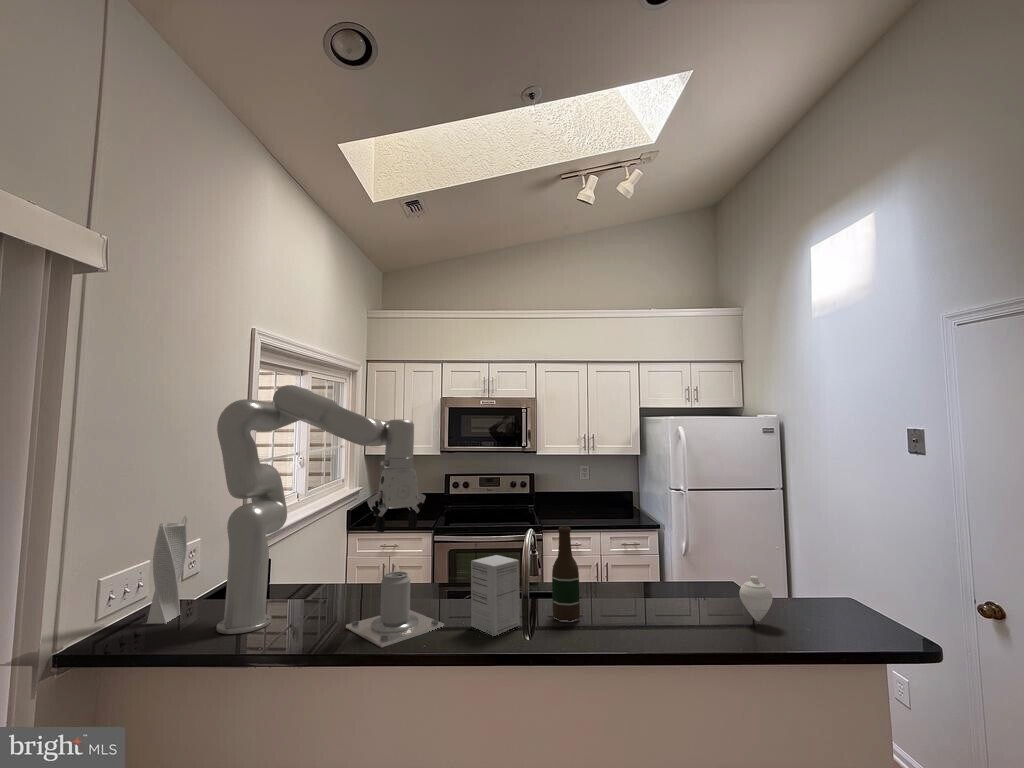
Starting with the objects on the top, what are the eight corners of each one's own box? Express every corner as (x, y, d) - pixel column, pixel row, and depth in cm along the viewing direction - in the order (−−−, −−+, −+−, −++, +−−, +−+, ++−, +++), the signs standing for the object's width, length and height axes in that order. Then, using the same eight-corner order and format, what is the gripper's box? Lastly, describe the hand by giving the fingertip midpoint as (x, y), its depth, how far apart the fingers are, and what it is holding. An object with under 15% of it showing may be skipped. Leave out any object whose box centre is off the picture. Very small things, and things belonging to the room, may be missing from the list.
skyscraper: (190, 616, 132) (199, 514, 136) (168, 626, 124) (178, 518, 128) (160, 616, 132) (170, 514, 136) (137, 626, 124) (148, 518, 128)
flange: (345, 627, 121) (346, 621, 121) (406, 611, 134) (406, 605, 134) (381, 647, 108) (381, 640, 109) (443, 627, 121) (444, 620, 121)
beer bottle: (585, 616, 128) (582, 526, 131) (573, 625, 121) (571, 530, 125) (560, 611, 132) (558, 524, 136) (547, 620, 125) (545, 527, 129)
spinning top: (768, 633, 115) (763, 582, 117) (736, 624, 121) (732, 576, 123) (779, 625, 120) (775, 576, 122) (749, 617, 126) (745, 571, 128)
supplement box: (497, 618, 127) (496, 554, 129) (521, 627, 120) (520, 559, 123) (469, 628, 120) (470, 559, 123) (493, 637, 114) (493, 565, 116)
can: (414, 617, 124) (415, 570, 126) (402, 628, 117) (403, 577, 118) (388, 616, 125) (389, 569, 127) (374, 626, 118) (376, 576, 120)
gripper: (376, 465, 119) (373, 535, 116) (433, 464, 131) (431, 527, 128) (362, 465, 124) (359, 531, 122) (418, 464, 136) (416, 524, 134)
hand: (396, 529), depth 125 cm, fingers open, 9 cm apart
